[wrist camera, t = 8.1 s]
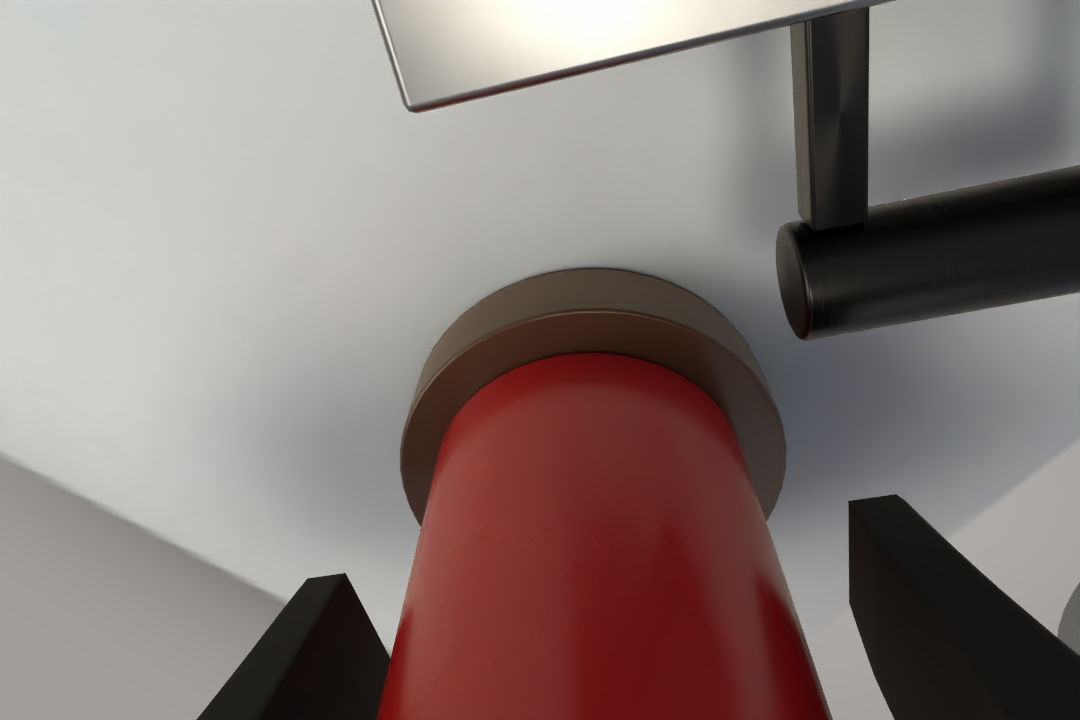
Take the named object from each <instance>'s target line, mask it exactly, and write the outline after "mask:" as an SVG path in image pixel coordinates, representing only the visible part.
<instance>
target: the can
mask: <svg viewBox="0 0 1080 720" xmlns="http://www.w3.org/2000/svg"><path fill="white" fill-rule="evenodd" d="M377 720H833V719H832V716H831V713H830V710H829V707H828V704H827V701H826V698H825V695H824V692H823V689H822V686H821V683H820V680H819V678H818V674H817V671H816V668H815V665H814V662H813V659H812V657H811V654H810V651H809V648H808V645H807V642H806V639H805V636H804V633H803V630H802V627H801V624H800V621H799V618H798V615H797V612H796V609H795V606H794V603H793V600H792V597H791V594H790V591H789V588H788V585H787V582H786V579H785V576H784V574H783V571H782V568H781V565H780V562H779V559H778V556H777V553H776V550H775V547H774V544H773V541H772V538H771V535H770V532H769V529H768V526H767V523H766V520H765V517H764V514H763V511H762V508H761V505H760V502H759V499H758V496H757V493H756V490H755V488H754V485H753V482H752V479H751V476H750V473H749V470H748V467H747V464H746V461H745V458H744V455H743V452H742V449H741V446H740V443H739V441H738V438H737V435H736V433H735V430H734V428H733V426H732V425H731V423H730V421H729V420H728V418H727V416H726V414H725V413H724V412H723V411H722V409H721V408H720V407H719V406H718V405H717V403H716V402H715V401H714V400H713V399H712V398H711V397H710V396H709V395H707V394H706V393H705V392H704V391H703V390H702V389H701V388H700V387H698V386H697V385H695V384H694V383H692V382H691V381H689V380H688V379H686V378H685V377H683V376H681V375H679V374H677V373H675V372H673V371H671V370H669V369H667V368H665V367H663V366H660V365H657V364H655V363H652V362H649V361H646V360H643V359H638V358H634V357H629V356H625V355H618V354H608V353H575V354H566V355H558V356H553V357H549V358H545V359H541V360H537V361H534V362H531V363H528V364H526V365H523V366H520V367H517V368H515V369H513V370H511V371H509V372H507V373H505V374H503V375H502V376H500V377H498V378H496V379H495V380H493V381H492V382H490V383H489V384H488V385H486V386H485V387H483V388H482V389H480V390H479V391H478V392H477V393H476V394H475V395H474V396H473V397H472V398H471V399H469V400H468V401H467V402H466V403H465V405H464V406H463V407H462V408H461V409H460V411H459V412H458V413H457V414H456V416H455V417H454V419H453V420H452V422H451V424H450V425H449V427H448V429H447V431H446V433H445V435H444V438H443V441H442V443H441V446H440V450H439V454H438V458H437V463H436V467H435V471H434V476H433V480H432V484H431V488H430V493H429V497H428V501H427V506H426V510H425V514H424V518H423V523H422V527H421V531H420V536H419V540H418V544H417V548H416V553H415V557H414V561H413V566H412V570H411V574H410V578H409V583H408V587H407V591H406V596H405V600H404V604H403V608H402V613H401V617H400V621H399V626H398V630H397V634H396V638H395V643H394V647H393V651H392V656H391V660H390V664H389V668H388V673H387V677H386V681H385V686H384V690H383V694H382V698H381V703H380V707H379V711H378V716H377Z"/></svg>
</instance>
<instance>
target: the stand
mask: <svg viewBox="0 0 1080 720" xmlns="http://www.w3.org/2000/svg"><path fill="white" fill-rule="evenodd" d="M575 353H608V354H618V355H625V356H629V357H634V358H638V359H643V360H646V361H649V362H652V363H655V364H657V365H660V366H663V367H665V368H667V369H669V370H671V371H673V372H675V373H677V374H679V375H681V376H683V377H685V378H686V379H688V380H689V381H691V382H692V383H694V384H695V385H697V386H698V387H700V388H701V389H702V390H703V391H704V392H705V393H706V394H707V395H709V396H710V397H711V398H712V399H713V400H714V401H715V402H716V403H717V405H718V406H719V407H720V408H721V409H722V411H723V412H724V413H725V414H726V416H727V418H728V420H729V421H730V423H731V425H732V426H733V428H734V430H735V433H736V435H737V438H738V441H739V443H740V446H741V449H742V452H743V455H744V458H745V461H746V464H747V467H748V470H749V473H750V476H751V479H752V482H753V485H754V488H755V490H756V493H757V496H758V499H759V502H760V505H761V508H762V511H763V514H764V517H765V520H766V522H767V520H768V518H769V516H770V514H771V513H772V511H773V509H774V507H775V505H776V502H777V500H778V497H779V494H780V491H781V489H782V485H783V479H784V474H785V469H786V441H785V435H784V428H783V424H782V422H781V419H780V416H779V413H778V410H777V407H776V404H775V402H774V400H773V398H772V395H771V393H770V391H769V389H768V386H767V384H766V382H765V379H764V377H763V375H762V373H761V370H760V368H759V366H758V363H757V361H756V359H755V358H754V356H753V354H752V352H751V350H750V348H749V346H748V345H747V343H746V342H745V340H744V339H743V338H742V337H741V335H740V334H739V333H738V331H737V330H736V329H735V327H734V326H733V325H732V324H731V323H730V322H729V321H728V320H727V319H725V318H724V317H723V316H722V315H721V314H720V313H719V312H718V311H717V310H716V309H714V308H713V307H711V306H710V305H709V304H707V303H706V302H704V301H703V300H702V299H700V298H699V297H697V296H695V295H693V294H691V293H689V292H687V291H685V290H684V289H682V288H680V287H678V286H675V285H673V284H670V283H667V282H665V281H662V280H659V279H656V278H654V277H649V276H645V275H641V274H636V273H632V272H627V271H617V270H608V269H576V270H568V271H561V272H554V273H549V274H545V275H541V276H537V277H533V278H530V279H526V280H523V281H521V282H518V283H516V284H513V285H511V286H508V287H506V288H503V289H501V290H500V291H498V292H496V293H494V294H492V295H491V296H489V297H487V298H485V299H483V300H482V301H480V302H479V303H478V304H476V305H475V306H474V307H472V308H471V309H470V310H468V311H467V312H466V313H464V314H463V315H462V316H461V317H460V318H459V319H458V320H457V321H456V322H455V323H454V324H453V325H452V326H451V327H450V328H449V329H448V330H447V331H446V332H445V333H444V335H443V336H442V337H441V339H440V340H439V341H438V343H437V344H436V345H435V347H434V348H433V350H432V352H431V354H430V356H429V358H428V359H427V361H426V363H425V365H424V368H423V370H422V373H421V376H420V379H419V382H418V385H417V388H416V391H415V394H414V398H413V401H412V404H411V407H410V410H409V414H408V417H407V420H406V423H405V426H404V430H403V436H402V441H401V447H400V470H401V476H402V482H403V488H404V491H405V494H406V497H407V500H408V503H409V505H410V508H411V510H412V512H413V514H414V516H415V518H416V519H417V521H418V523H419V525H420V526H421V527H422V523H423V518H424V514H425V510H426V506H427V501H428V497H429V493H430V488H431V484H432V480H433V476H434V471H435V467H436V463H437V458H438V454H439V450H440V446H441V443H442V441H443V438H444V435H445V433H446V431H447V429H448V427H449V425H450V424H451V422H452V420H453V419H454V417H455V416H456V414H457V413H458V412H459V411H460V409H461V408H462V407H463V406H464V405H465V403H466V402H467V401H468V400H469V399H471V398H472V397H473V396H474V395H475V394H476V393H477V392H478V391H479V390H480V389H482V388H483V387H485V386H486V385H488V384H489V383H490V382H492V381H493V380H495V379H496V378H498V377H500V376H502V375H503V374H505V373H507V372H509V371H511V370H513V369H515V368H517V367H520V366H523V365H526V364H528V363H531V362H534V361H537V360H541V359H545V358H549V357H553V356H558V355H566V354H575Z"/></svg>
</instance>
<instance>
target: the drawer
mask: <svg viewBox="0 0 1080 720" xmlns="http://www.w3.org/2000/svg"><path fill="white" fill-rule="evenodd" d="M891 1H895V0H371V2H372V6H373V9H374V12H375V15H376V18H377V21H378V25H379V28H380V31H381V34H382V37H383V40H384V44H385V47H386V50H387V53H388V56H389V60H390V63H391V66H392V69H393V72H394V75H395V79H396V82H397V85H398V88H399V91H400V94H401V98H402V101H403V104H404V106H405V107H406V108H407V109H408V111H409V112H414V113H421V112H425V111H429V110H434V109H438V108H442V107H446V106H451V105H455V104H459V103H463V102H467V101H472V100H476V99H480V98H484V97H489V96H493V95H497V94H501V93H506V92H510V91H514V90H518V89H523V88H527V87H531V86H535V85H539V84H544V83H548V82H552V81H556V80H561V79H565V78H569V77H573V76H578V75H582V74H586V73H590V72H595V71H599V70H603V69H607V68H611V67H616V66H620V65H624V64H628V63H633V62H637V61H641V60H645V59H650V58H654V57H658V56H662V55H666V54H671V53H675V52H679V51H683V50H688V49H692V48H696V47H700V46H705V45H709V44H713V43H717V42H722V41H726V40H730V39H734V38H738V37H743V36H747V35H751V34H755V33H760V32H764V31H768V30H772V29H777V28H781V27H785V26H789V25H790V33H791V56H792V78H793V101H794V123H795V146H796V169H797V191H798V213H799V215H800V217H801V218H802V219H803V220H801V221H796V222H791V223H786V224H784V225H783V226H781V227H780V229H779V231H778V235H777V241H776V266H777V276H778V282H779V288H780V293H781V298H782V302H783V306H784V310H785V313H786V316H787V319H788V321H789V324H790V326H791V328H792V330H793V331H794V333H795V335H796V336H797V337H798V338H799V339H801V340H811V339H817V338H823V337H829V336H834V335H840V334H846V333H851V332H857V331H863V330H868V329H874V328H880V327H885V326H891V325H897V324H903V323H908V322H914V321H920V320H925V319H931V318H937V317H942V316H948V315H954V314H959V313H965V312H971V311H977V310H982V309H988V308H994V307H999V306H1005V305H1011V304H1016V303H1022V302H1028V301H1033V300H1039V299H1045V298H1051V297H1056V296H1062V295H1068V294H1073V293H1079V292H1080V165H1078V166H1073V167H1068V168H1063V169H1058V170H1053V171H1048V172H1043V173H1038V174H1033V175H1028V176H1023V177H1018V178H1013V179H1008V180H1003V181H998V182H993V183H988V184H983V185H978V186H972V187H967V188H962V189H957V190H952V191H947V192H942V193H937V194H932V195H927V196H922V197H917V198H912V199H907V200H902V201H897V202H892V203H887V204H882V205H877V206H872V207H868V115H869V7H870V6H874V5H878V4H882V3H887V2H891Z"/></svg>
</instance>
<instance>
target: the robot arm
mask: <svg viewBox="0 0 1080 720" xmlns="http://www.w3.org/2000/svg"><path fill="white" fill-rule="evenodd" d="M849 603H850V606H851V609H852V612H853V615H854V618H855V621H856V624H857V627H858V630H859V633H860V636H861V639H862V642H863V644H864V648H865V650H866V653H867V656H868V659H869V662H870V665H871V667H872V670H873V673H874V676H875V678H876V680H877V683H878V685H879V687H880V689H881V691H882V694H883V696H884V698H885V700H886V702H887V704H888V707H889V709H890V711H891V712H892V715H893V717H894V719H895V720H1080V656H1079V655H1078V654H1077V653H1076V652H1074V651H1073V650H1072V649H1071V648H1069V647H1068V646H1067V645H1066V644H1065V643H1063V642H1062V641H1061V640H1060V639H1058V638H1057V637H1056V636H1055V635H1053V634H1052V633H1051V632H1050V631H1049V630H1048V629H1046V628H1045V627H1044V626H1043V625H1042V624H1040V623H1039V622H1038V621H1037V620H1036V619H1035V618H1033V617H1032V616H1031V615H1030V614H1028V612H1026V611H1025V610H1024V609H1023V608H1022V607H1020V606H1019V605H1018V604H1017V603H1016V602H1015V601H1013V600H1012V599H1011V598H1010V597H1009V596H1007V595H1006V594H1005V593H1004V592H1003V591H1002V590H1001V589H999V588H998V587H997V586H996V585H995V584H994V583H993V582H992V581H990V580H989V579H988V578H987V577H986V576H985V575H984V574H982V573H981V572H980V571H979V570H978V569H977V568H976V567H975V566H974V565H972V564H971V563H970V562H969V561H968V560H967V559H966V558H965V557H964V556H963V555H962V554H961V553H960V552H958V551H957V550H956V549H955V548H954V547H953V546H952V545H951V544H950V543H949V542H948V541H947V540H946V539H944V538H943V537H942V536H941V535H940V534H939V533H938V532H937V531H936V530H935V529H934V528H933V527H932V526H931V525H930V524H929V523H928V522H927V521H926V520H925V519H924V518H923V517H921V516H920V515H919V514H918V513H917V512H916V511H915V510H914V509H913V508H912V507H911V506H910V505H909V504H908V503H907V502H906V501H905V500H904V499H902V498H901V497H899V496H898V495H896V494H895V495H888V496H881V497H874V498H867V499H860V500H853V501H849ZM390 660H391V659H390V657H389V655H388V653H387V651H386V649H385V647H384V645H383V644H382V642H381V640H380V638H379V636H378V634H377V632H376V630H375V628H374V626H373V625H372V623H371V621H370V619H369V617H368V615H367V613H366V611H365V609H364V607H363V605H362V604H361V602H360V600H359V598H358V596H357V594H356V592H355V590H354V588H353V586H352V585H351V583H350V581H349V579H348V577H347V575H346V573H343V574H336V575H329V576H322V577H315V578H308V579H307V580H306V581H305V582H304V584H303V585H302V586H301V587H300V588H299V590H298V591H297V592H296V593H295V595H294V596H293V597H292V598H291V600H290V601H289V602H288V604H287V605H286V606H285V607H284V609H283V610H282V612H281V613H280V614H279V615H278V617H277V618H276V619H275V620H274V622H273V623H272V624H271V626H270V627H269V628H268V630H267V631H266V632H265V634H264V635H263V636H262V637H261V639H260V640H259V641H258V642H257V644H256V645H255V646H254V648H253V649H252V651H251V652H250V653H249V654H248V655H247V657H246V658H245V659H244V661H243V662H242V663H241V664H240V666H239V667H238V668H237V670H236V671H235V672H234V673H233V675H232V676H231V677H230V679H229V680H228V681H227V682H226V683H225V685H224V686H223V687H222V688H221V690H220V691H219V692H218V694H217V695H216V696H215V697H214V699H213V700H212V701H211V702H210V704H209V705H208V706H207V708H206V709H205V710H204V711H203V712H202V714H201V715H200V716H199V717H198V719H197V720H377V716H378V711H379V707H380V703H381V698H382V694H383V690H384V686H385V681H386V677H387V673H388V668H389V664H390Z"/></svg>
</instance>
